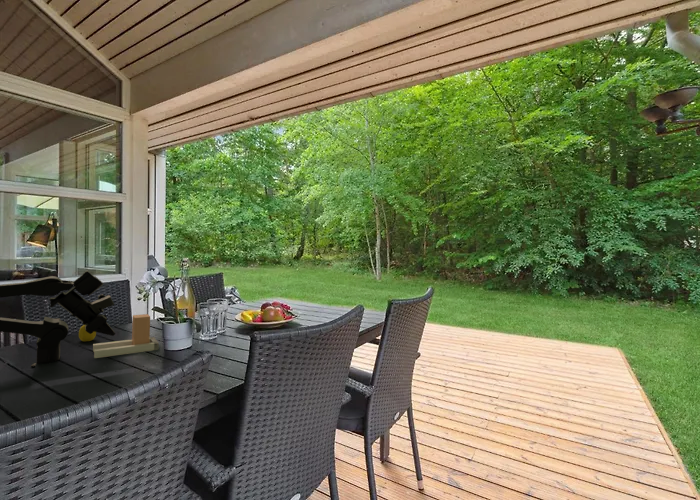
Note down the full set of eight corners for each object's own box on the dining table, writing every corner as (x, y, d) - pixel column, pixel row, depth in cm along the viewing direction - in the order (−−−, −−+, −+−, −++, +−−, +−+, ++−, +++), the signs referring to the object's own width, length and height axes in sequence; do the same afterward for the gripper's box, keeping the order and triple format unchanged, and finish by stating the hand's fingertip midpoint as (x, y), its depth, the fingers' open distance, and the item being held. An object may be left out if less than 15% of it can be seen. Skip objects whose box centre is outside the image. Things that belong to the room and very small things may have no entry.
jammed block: (133, 350, 129) (134, 317, 129) (131, 347, 133) (132, 315, 133) (149, 348, 132) (150, 316, 132) (147, 345, 136) (147, 314, 136)
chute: (94, 361, 120) (94, 351, 120) (92, 353, 128) (93, 344, 128) (158, 352, 132) (158, 343, 132) (153, 345, 140) (153, 336, 140)
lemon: (88, 345, 136) (89, 324, 136) (74, 345, 137) (75, 324, 136) (99, 341, 142) (99, 321, 142) (85, 340, 142) (86, 320, 142)
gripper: (100, 292, 117) (137, 322, 124) (97, 284, 131) (130, 312, 138) (68, 318, 112) (108, 348, 119) (68, 307, 127) (104, 335, 133)
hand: (114, 334), depth 127 cm, fingers closed
